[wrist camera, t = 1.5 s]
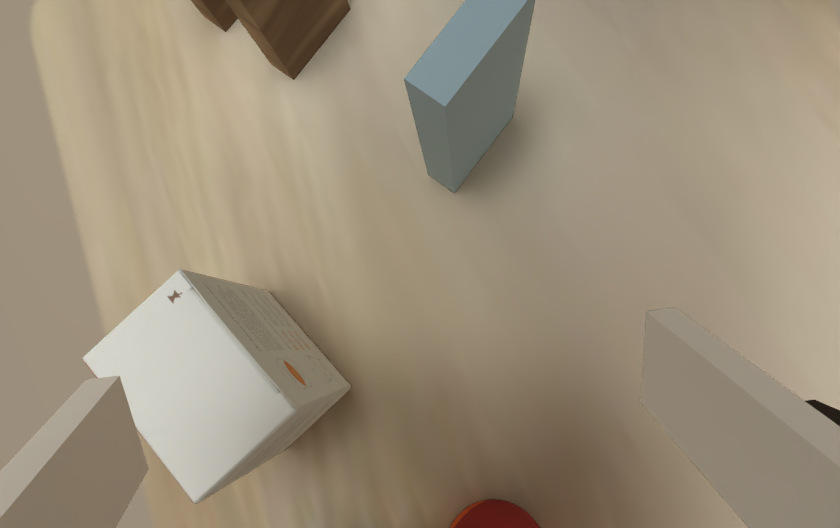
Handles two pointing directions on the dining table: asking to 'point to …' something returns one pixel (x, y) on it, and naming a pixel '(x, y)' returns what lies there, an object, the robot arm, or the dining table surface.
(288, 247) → the dining table surface
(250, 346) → the small box
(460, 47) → the blue domino
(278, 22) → the domino
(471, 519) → the paper cup
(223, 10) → the domino
